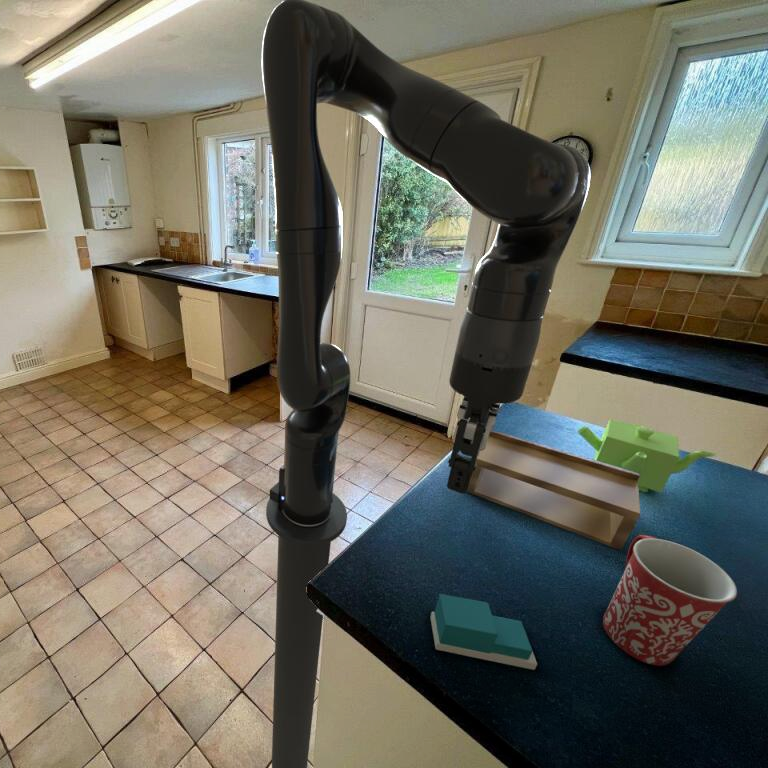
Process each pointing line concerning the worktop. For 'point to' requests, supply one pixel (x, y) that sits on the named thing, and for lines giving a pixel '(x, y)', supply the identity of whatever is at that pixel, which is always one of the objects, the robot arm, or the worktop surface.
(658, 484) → the kettle
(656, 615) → the mug
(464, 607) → the trainer
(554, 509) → the shoe shelf
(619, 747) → the worktop surface
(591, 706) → the worktop surface
